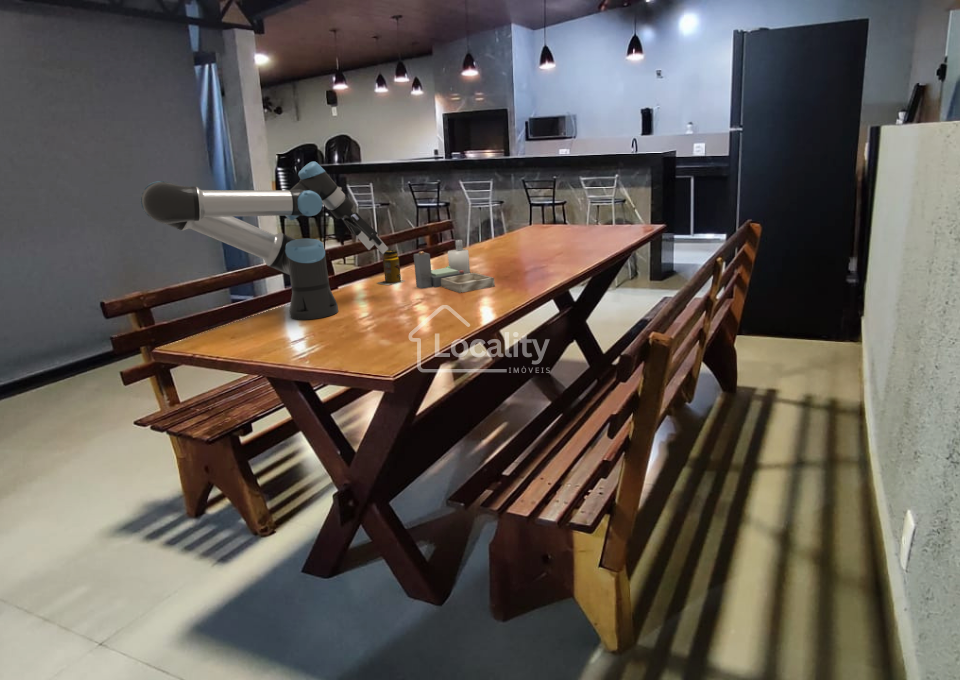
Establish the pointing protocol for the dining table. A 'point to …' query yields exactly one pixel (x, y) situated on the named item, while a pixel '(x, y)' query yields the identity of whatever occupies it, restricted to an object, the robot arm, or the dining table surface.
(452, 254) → the white bottle
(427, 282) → the cell
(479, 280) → the trough
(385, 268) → the condiment
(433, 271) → the checker pad
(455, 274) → the checker base
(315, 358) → the dining table surface
